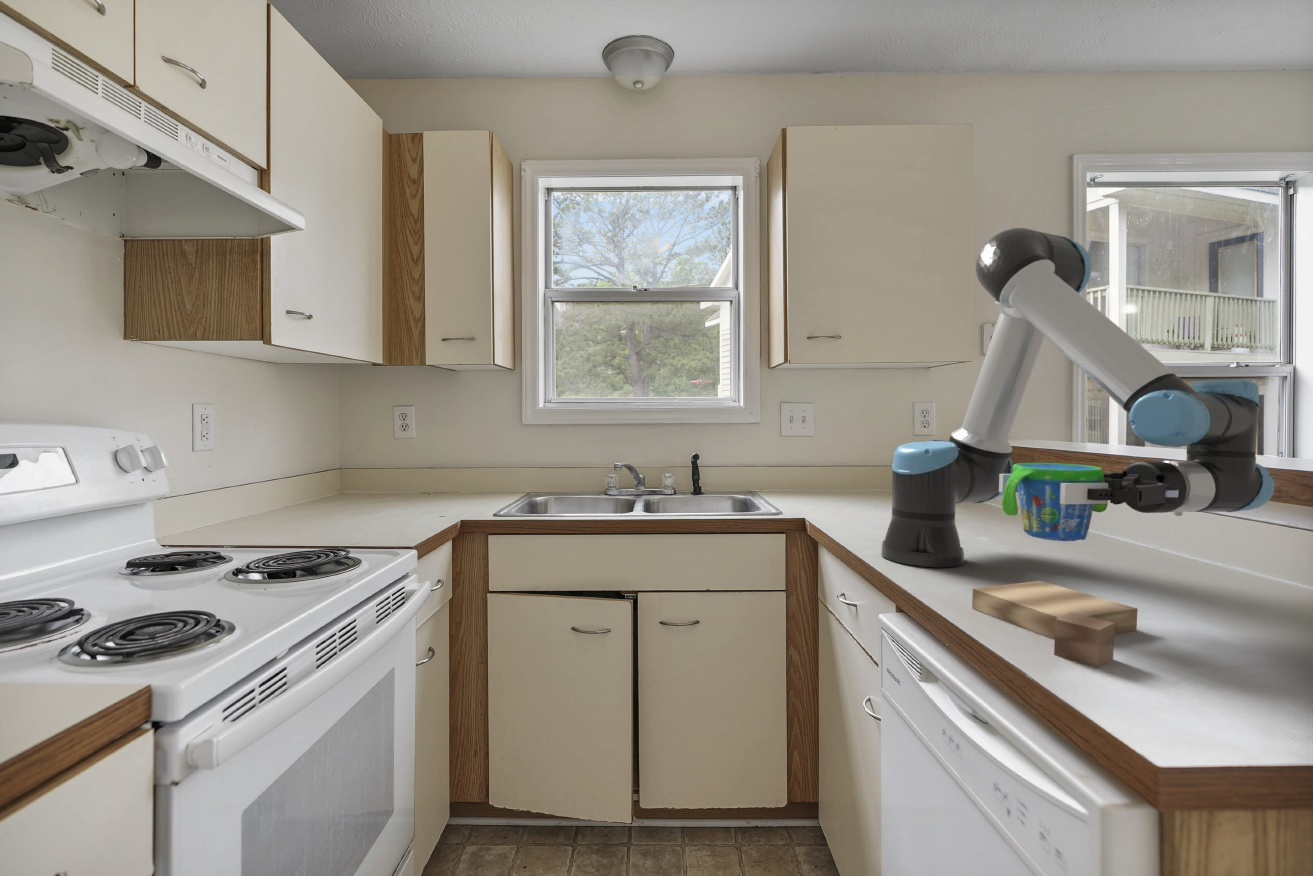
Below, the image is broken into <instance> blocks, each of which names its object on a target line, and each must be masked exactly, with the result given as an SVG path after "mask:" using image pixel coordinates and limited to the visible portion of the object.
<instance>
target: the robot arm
mask: <svg viewBox="0 0 1313 876" xmlns="http://www.w3.org/2000/svg"><path fill="white" fill-rule="evenodd" d="M979 250H980V251H979V252H978V255H977V257H976V262H975V271H976V277H977V279H978V282H979V284H980V285H981V286H982V287H983V289H984V290H985V291H986V292H987V293H988V294H989V295H990V296H991V297H993V299H995V300H994V304H995V306H996V307H997V310H998V311H999V315H998V318H997V322H996V325H995V327H994V331H993V334H992V337H991V340H990V342H989V345H988V349H987V352H986V355H985V358H984V361H983V362H982V367H981V369H980V372H979V374H978V378H977V382H976V383H975V386H974V389H973V392H972V396H971V399H970V401H969V405H968V408H967V411H966V414H965V416H964V420H963V422H962V425H961V427H960V428H958V429H957V430H954V431H952V432H951V433H950V436H949V440H947V441H945V440H928V441H915V442H908V443H905V444H901V445H898V447H896V448H895V450H894V453H893V462H892V465H891V467H892V468H891V469H892V484H891V485H892V489H891V490H892V491H891V495H892V496H891V498H892V499H891V519H890V522H889V524H888V527H887V530H886V534H885V537H884V540H883V541H882V543H881V556H882V557H883V558H884V559H887V560H890V561H892V562H895V563H899V564H904V565H909V566H918V567H926V568H953V567H959V566H962V565H963V564H964V561H965V560H964V559H965V551H964V548H963V547H962V546H961V542H960V535H959V533H958V529H957V526H956V506H957V505H961V504H971V503H972V504H981V503H985V502H989V501H992V500H997V498H1000V497H1001V496H1002V497H1003V494H1004V490H1005V486H1006V484H1007V481H1008V479H1009V477H1010V476H1011V474H1012V473H1013V466H1014V465H1013V460H1012V459H1011V454H1012V452H1013V446H1012V445H1011V444H1010V442H1009V440H1008V437H1009V435H1010V433H1011V429H1012V427H1013V424H1014V422H1015V419H1016V416H1017V413H1018V410H1019V408H1020V405H1021V402H1022V400H1023V397H1024V394H1025V391H1026V389H1027V386H1028V384H1029V380H1030V379H1031V375H1032V372H1033V369H1034V366H1035V364H1036V362H1037V358H1038V356H1039V353H1040V351H1041V348H1042V345H1043V342H1044V340H1045V338H1046V339H1048V341H1049V342H1051V343H1052V344H1053V345H1054V346H1055V347H1056V348H1057V349H1059V351H1060V352H1061V353H1063V355H1064V356H1066V357H1067V359H1069V360H1070V361H1071V362H1072V363H1073V364H1074V365H1075V366H1077V368H1078V369H1079V370H1081V371H1082V372H1083V373H1084V374H1085V375H1086V376H1087V377H1088V378H1089V379H1090V380H1092V381H1093V382H1094V383H1095V385H1097V386H1098V387H1099V388H1100V389H1101V390H1102V391H1104V393H1106V394H1107V395H1108V397H1110V398H1111V399H1112V400H1113V401H1114V402H1115V403H1116V404H1117V405H1119V407H1121V408H1122V409H1123V410H1124V411H1125V412H1126V413H1127V414H1128V420H1129V424H1130V427H1131V430H1132V432H1133V433H1134V434H1135V436H1137V437H1138V438H1139V439H1140V440H1142V441H1144V442H1146V443H1149V444H1150V445H1151V444H1152V445H1156V446H1160V447H1161V446H1162V447H1171V448H1181V447H1186V460H1162V461H1161V460H1150V461H1149V460H1148V461H1147V460H1142V461H1141V460H1140V461H1136V462H1134V463H1131V464H1129V465H1128V466H1127V467H1125V468H1124V470H1123V471H1122V472H1117V471H1116V472H1114V471H1109V472H1107V473H1104V476H1103V478H1104V481H1105V483H1061V488H1060V504H1107V502H1108V503H1110V504H1113V505H1122V504H1124V503H1125V505H1127V506H1128V507H1129V508H1131V509H1132V510H1134V511H1136V512H1139V513H1143V514H1157V513H1159V514H1161V513H1162V514H1163V513H1173V514H1174V516H1176V517H1182V516H1183V514H1184V512H1185V513H1186V512H1187V513H1190V512H1191V513H1193V512H1194V513H1202V512H1203V513H1205V512H1206V513H1207V512H1209V513H1210V512H1211V513H1213V512H1214V513H1217V512H1218V513H1220V512H1221V513H1222V512H1223V513H1224V512H1225V513H1235V512H1241V511H1242V512H1243V511H1251V510H1255V509H1258V508H1261V507H1262V506H1264V505H1266V504H1267V503H1268V502H1269V501H1270V499H1271V498H1272V496H1273V495H1274V492H1275V482H1274V479H1273V478H1272V476H1271V474H1270V472H1269V470H1267V468H1265V467H1264V466H1263V465H1261V464H1259V463H1257V457H1256V448H1257V436H1258V423H1259V422H1258V421H1259V410H1260V409H1261V403H1260V394H1259V393H1260V391H1259V390H1260V389H1259V385H1258V384H1257V383H1256V382H1255V381H1252V380H1238V379H1236V380H1235V379H1230V380H1224V379H1222V380H1202V381H1201V380H1200V381H1196V382H1194V383H1192V385H1191V386H1190V385H1189V384H1187V382H1185V381H1184V380H1183V379H1182V378H1180V377H1179V376H1177V374H1176V373H1175V372H1174V371H1173V370H1171V368H1169V367H1168V366H1166V365H1165V364H1164V363H1163V362H1162V361H1161V360H1159V359H1158V358H1157V357H1155V356H1154V355H1153V354H1152V353H1151V352H1150V351H1148V350H1147V349H1146V348H1145V347H1143V346H1142V345H1141V344H1140V343H1139V342H1137V341H1136V340H1135V339H1134V338H1133V337H1132V336H1130V335H1129V334H1128V333H1127V332H1126V331H1124V329H1122V328H1120V326H1118V325H1117V324H1116V323H1115V322H1113V321H1112V320H1111V319H1110V318H1109V317H1108V316H1106V315H1105V314H1104V313H1103V312H1102V311H1100V310H1099V309H1098V308H1097V307H1095V306H1094V305H1093V304H1092V303H1090V302H1089V301H1088V300H1087V299H1086V298H1085V297H1084V296H1082V295H1081V293H1082V292H1083V291H1084V289H1085V288H1086V286H1087V284H1088V283H1089V281H1090V278H1091V274H1092V260H1091V256H1090V254H1089V253H1088V251H1087V250H1086V248H1085V246H1083V245H1082V244H1080V243H1079V242H1077V241H1075V240H1072V239H1070V238H1069V237H1067V236H1061V235H1057V234H1051V233H1047V232H1042V231H1038V230H1035V229H1031V228H1026V227H1014V228H1008V229H1006V230H1003V231H1001V232H999V233H997V234H995V235H993V236H992V237H990V239H989V240H988V241H986V243H985V244H984V245H983V246H982V247H981V249H979ZM1018 491H1019V488H1018V485H1017V487H1016V493H1018Z"/></svg>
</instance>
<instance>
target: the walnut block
mask: <svg viewBox="0 0 1313 876" xmlns="http://www.w3.org/2000/svg"><path fill="white" fill-rule="evenodd" d="M1114 625H1115V623H1113V622H1109V621H1105V620H1101V619H1097V618H1093V617H1089V616H1085V615H1081V614H1077V613H1073V612H1071V613H1069V614H1066V615H1064V616H1061V617H1059V618H1056V619H1055V639H1054V643H1053V644H1054V646H1053V647H1054V648H1053V649H1054V650H1053V655H1054V656H1057V657H1060V658H1064V659H1068V660H1069V661H1073V662H1077V663H1079V664H1080V663H1081V664H1082V665H1086V666H1089V667H1092V666H1093V667H1092V668H1095V669H1096V668H1097V669H1098V668H1100V667H1101V666H1103V665H1106V664H1107V663H1109V662H1111V661H1113V660H1114V648H1115V647H1114V644H1115V634H1114Z"/></svg>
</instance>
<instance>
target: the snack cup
mask: <svg viewBox="0 0 1313 876" xmlns="http://www.w3.org/2000/svg"><path fill="white" fill-rule="evenodd" d="M1012 466H1013V473H1012V474H1011V476H1010V477H1009V479H1008V481H1007V484H1006V486H1005V490H1004V494H1003V495H1002V501H1001V507H1002V510H1003V512H1004V513H1005V514H1007V515H1008V516H1017V515H1018V513H1019V511H1020V517H1021V524H1022V529H1023V532H1024V533H1026V534H1027V535H1028V536H1030V537H1031V538H1032V537H1033V538H1036V539H1037V538H1038V539H1041V540H1047V541H1055V542H1056V541H1058V542H1076V541H1077V542H1078V541H1079V540H1081V541H1084V540H1086V538H1087V536H1088V533H1089V529H1090V525H1091V522H1092V515H1093V512H1094V513H1102V512H1104V511H1106V510H1107V508H1108V503H1109V501H1108V502H1107V504H1060V488H1061V483H1105V481H1104V478H1103V476H1104V474H1105V472H1104V471H1103V468H1102V467H1099V466H1093V465H1087V464H1086V465H1085V464H1073V463H1055V462H1050V463H1049V462H1023V463H1015V464H1013V465H1012ZM1017 485H1018V488H1019V491H1018V492H1016V487H1017ZM1016 494H1018V495H1016ZM1017 496H1018V501H1017ZM1018 503H1019V507H1018Z"/></svg>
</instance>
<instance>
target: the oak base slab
mask: <svg viewBox="0 0 1313 876" xmlns="http://www.w3.org/2000/svg"><path fill="white" fill-rule="evenodd" d="M971 601H972V602H971V605H972V606H971V608H973V609H972V610H975V611H979V612H980V611H981V613H984V614H986V615H988V614H989V616H992V617H994V618H996V617H997V619H999V618H1000V619H999V620H1002V621H1005V622H1007V621H1008V622H1007V623H1010V624H1013V625H1016V626H1018V627H1020V626H1021V628H1024V629H1026V630H1029V631H1032V632H1034V633H1036V632H1037V634H1038V635H1039V634H1040V635H1042V636H1045V637H1047V638H1049V639H1052V640H1055V619H1056V618H1059V617H1061V616H1064V615H1066V614H1069V613H1071V612H1073V613H1077V614H1081V615H1085V616H1089V617H1093V618H1097V619H1101V620H1105V621H1109V622H1113V623H1115V625H1114V635H1117V634H1123V633H1128V632H1134V631H1137V630H1138V629H1137V627H1138V610H1139V609H1138V607H1133V606H1129V605H1128V604H1127V605H1126V604H1123V603H1120V602H1118V601H1117V602H1115V601H1112V600H1109V599H1105V598H1102V597H1099V596H1095V595H1092V594H1088V593H1084V592H1082V591H1078V590H1074V589H1071V588H1067V587H1064V586H1061V585H1057V584H1054V583H1050V582H1047V581H1043V580H1036V581H1028V582H1020V583H1018V582H1017V583H1009V584H999V585H992V586H983V587H975V588H972V600H971Z"/></svg>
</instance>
